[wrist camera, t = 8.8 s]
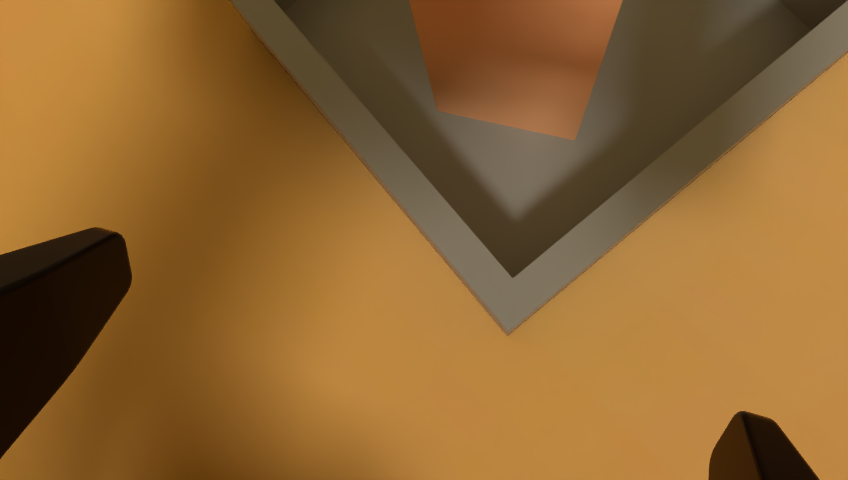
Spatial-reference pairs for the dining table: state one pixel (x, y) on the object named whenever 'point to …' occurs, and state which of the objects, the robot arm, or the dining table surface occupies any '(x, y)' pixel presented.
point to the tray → (540, 153)
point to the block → (515, 58)
